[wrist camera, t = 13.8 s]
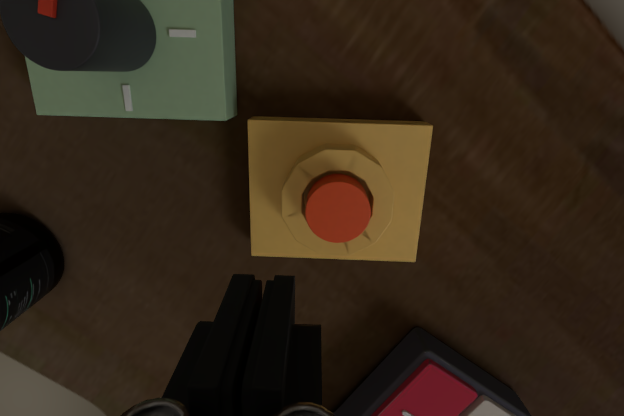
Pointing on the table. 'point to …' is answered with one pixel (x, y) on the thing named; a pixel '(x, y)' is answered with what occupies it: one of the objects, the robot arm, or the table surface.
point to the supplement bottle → (26, 265)
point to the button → (337, 208)
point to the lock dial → (81, 33)
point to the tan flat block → (336, 160)
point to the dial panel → (156, 71)
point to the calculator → (430, 385)
